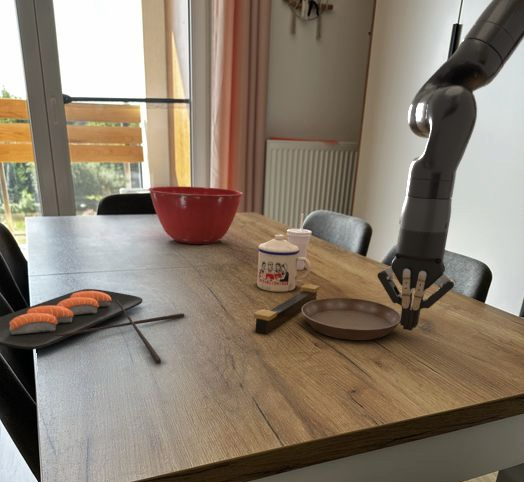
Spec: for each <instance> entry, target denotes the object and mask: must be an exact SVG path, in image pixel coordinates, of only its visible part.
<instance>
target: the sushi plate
mask: <svg viewBox="0 0 524 482" xmlns="http://www.w3.org/2000/svg"><path fill="white" fill-rule="evenodd" d="M143 302H144V301H143V298H142V297H140V296H136V295H132V294H127V293H122V292H116V291H111V290H110V291H109V290H103V289H96V288H95V289H94V288H84V289H79V290H75V291H71V292H69V293H65V294H63V295H60V296H57V297H53V298H51V299H48V300H45V301H42V302H40V303H37V304H34V305H31V306H29V307H25V308H22V309H19V310H17V311H13V312H11V313H8V314H5V315H2V316H0V346H4V347H9V348H14V349H19V350H38V349H42V348H45V347H48V346H51V345H53V344H56V343H59V342H60V341H63V340H65V339H67V338H70V337H72V336H74V335H77V334H84V333H90V332H96V331H101V330H108V329H113V328H114V329H115V328H120V327H128V326H132V327H133V329H134V330H135V332H136V333H137V335H138V336H139V338H140V340H141V341H142V343H143V344H144V346H145V348H146V349H147V351H148V352H149V353H150V355H151V357H152V358H153V360H154V361H155V363H157V364H161V361H162V360H161V357H160V356H159V355H158V353H157V352H156V350H155V349H154V348H153V346H152V345H151V344H150V343H149V341H148V339H147V338H146V337H145V336H144V334H143V333H142V332H141V330H140V329H139V328H138V326H137V325H140V324H148V323H153V322H154V323H155V322H159V321H160V322H161V321H166V320H173V319H179V318H184V317H185V313H183V312H180V313H175V314H174V313H173V314H167V315H163V316H157V317H151V318H146V319H141V320H135V321H134V320H133V319H132V318H131V316H129V313H127V311H129V310H131V309H134V308H136V307H137V306H139V305H141V304H142V303H143ZM122 313H123V314H124V315H125V317H126V318H127V320H128V321H129V322H124V323H117V324H111V325H105V326H100V327H99V326H98V327H94V326H96V325H98V324H100V323H103V322H105V321H107V320H109V319H112V318H114V317H116V316H118V315H120V314H122ZM92 327H93V328H92Z"/></svg>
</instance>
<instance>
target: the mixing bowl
mask: <svg viewBox="0 0 524 482" xmlns="http://www.w3.org/2000/svg"><path fill="white" fill-rule="evenodd" d="M147 190H148V191H149V194H150V198H151V201H152V205H153V208H154V210H155V214H156V216H157V218H158V220H159V222H160V225H161V226H162V227H161V228H162V229H163V230H164V232H165V233H166V234H167V236H168V237H170V238H172V239H173V240H174V241H175V242H177V243H182V244H192V245H193V244H194V245H207V244H213V243H217V242H218V241H219V240H221V239H223V237H224V236H225V235H227V233H228V232H229V229H230V228H231V225H232V223H233V222H234V219H235V217H236V215H237V211H238V209H239V205H240V202H241V198H242V195H243V192H242V191H239V190H235V189H229V188H228V189H227V188H218V187H204V186H175V185H173V186H172V185H171V186H169V185H168V186H153V187H149V188H148V189H147Z"/></svg>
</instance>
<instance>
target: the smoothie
mask: <svg viewBox="0 0 524 482" xmlns="http://www.w3.org/2000/svg"><path fill="white" fill-rule="evenodd" d="M304 215H305V213H302V212H301V215H300V217H301V218H300V228H288V229H287V230H286V235H287V241H289V242H290V243H291V244H293V245H296V246H297V247H298V248H299V253H298V257H304V258H306V259H307V255H308V250H309V244H310V240H311V237H312V234H313V233H312V230H309V229H305V228H303V227H304V217H305V216H304ZM305 264H306V263H305V262H304V261H300V260H297V271H301V270H304V268H305Z"/></svg>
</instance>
